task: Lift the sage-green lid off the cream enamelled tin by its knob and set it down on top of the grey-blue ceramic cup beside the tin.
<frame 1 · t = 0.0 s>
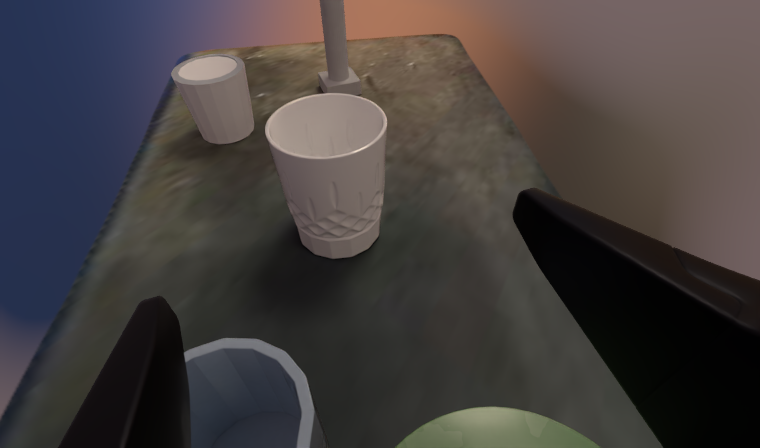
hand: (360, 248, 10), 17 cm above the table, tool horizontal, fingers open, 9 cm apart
white cup: (340, 230, 33), on the table
model tower: (340, 91, 50), on the table
shot glass: (228, 131, 44), on the table
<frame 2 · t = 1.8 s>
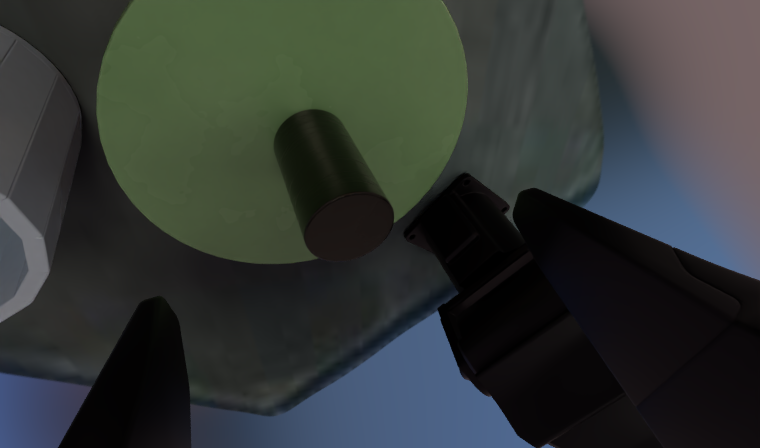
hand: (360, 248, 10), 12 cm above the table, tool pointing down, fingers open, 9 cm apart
lid: (307, 134, 13), point 7 cm above the table, touching tin
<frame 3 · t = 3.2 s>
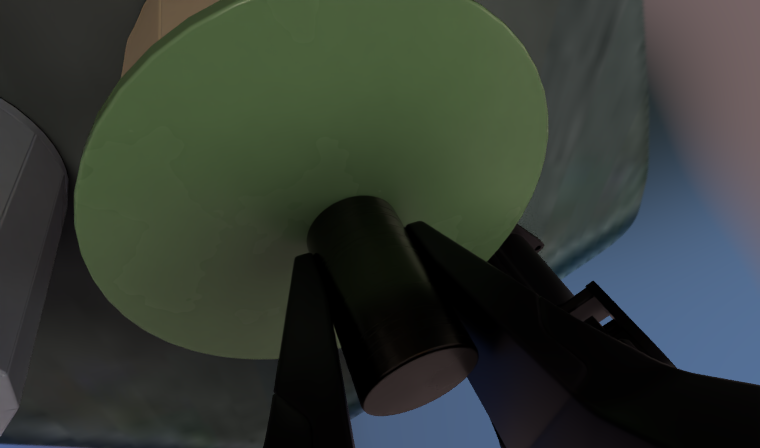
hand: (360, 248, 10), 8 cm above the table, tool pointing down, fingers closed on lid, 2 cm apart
tin: (291, 98, 15), on the table
lid: (346, 218, 11), point 7 cm above the table, touching gripper, tin
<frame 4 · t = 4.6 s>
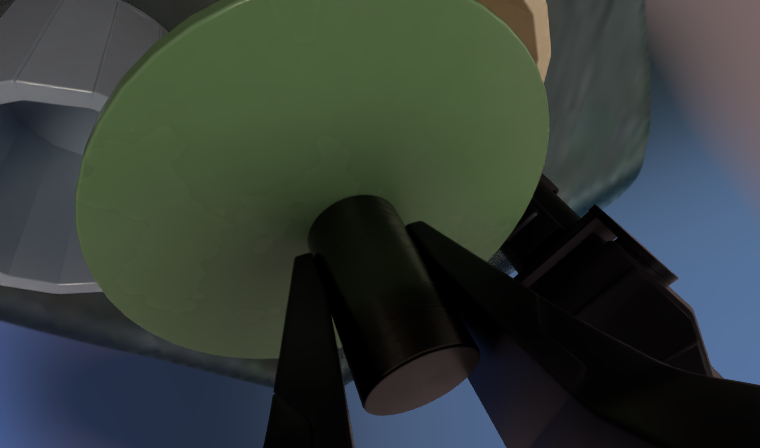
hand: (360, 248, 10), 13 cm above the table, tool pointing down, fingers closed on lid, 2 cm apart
tin: (364, 40, 19), on the table
cup: (102, 87, 17), on the table
lid: (347, 218, 11), point 12 cm above the table, touching gripper
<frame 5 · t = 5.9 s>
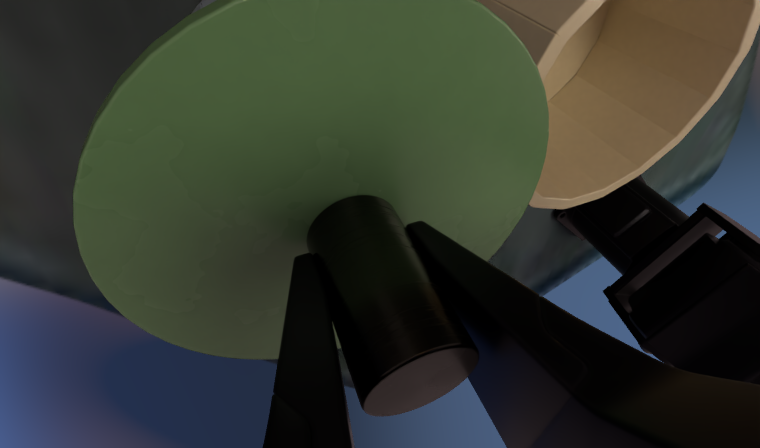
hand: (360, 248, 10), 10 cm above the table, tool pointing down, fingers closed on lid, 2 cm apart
tin: (520, 32, 19), on the table
lid: (346, 218, 11), point 9 cm above the table, touching gripper
when the fingers open (10 cm above the table, at t = 6.2 s): lid stays where it is, resting on cup.
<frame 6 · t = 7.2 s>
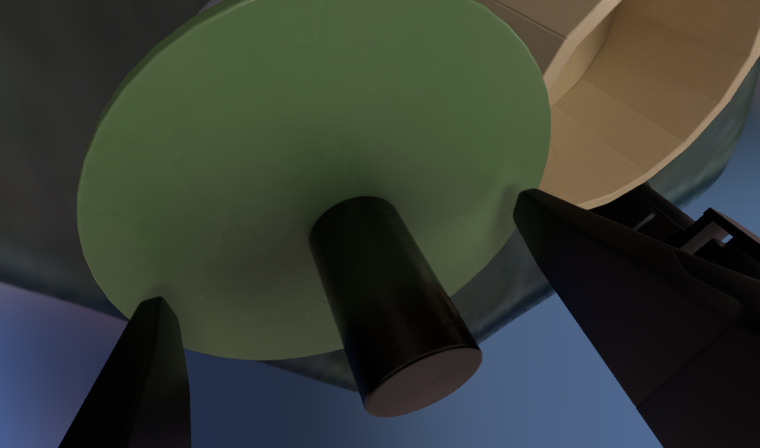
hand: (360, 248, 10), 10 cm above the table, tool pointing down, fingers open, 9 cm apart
tin: (526, 36, 19), on the table
lid: (348, 219, 11), point 9 cm above the table, touching cup
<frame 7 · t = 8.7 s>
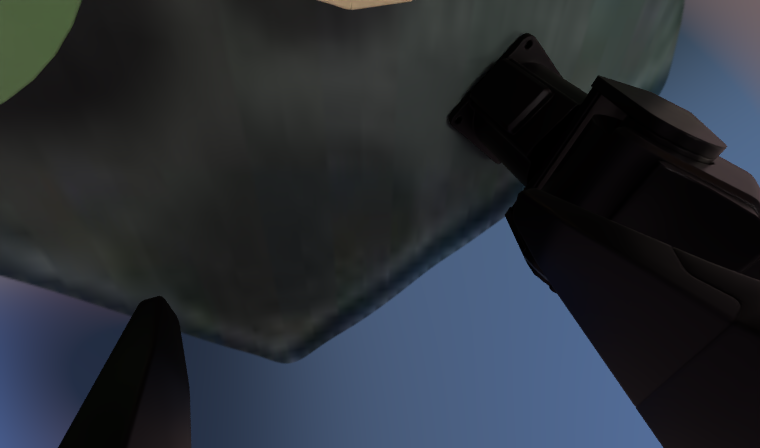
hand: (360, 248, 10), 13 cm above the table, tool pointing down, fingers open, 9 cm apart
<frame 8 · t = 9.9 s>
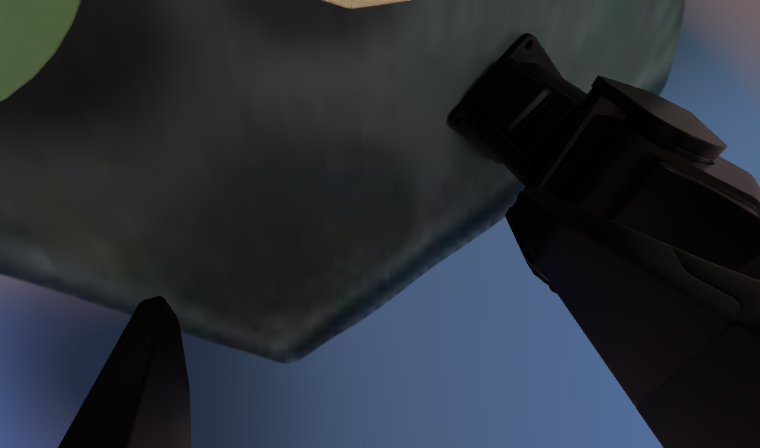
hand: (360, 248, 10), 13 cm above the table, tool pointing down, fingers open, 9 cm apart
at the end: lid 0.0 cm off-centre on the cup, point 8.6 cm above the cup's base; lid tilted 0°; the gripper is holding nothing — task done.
